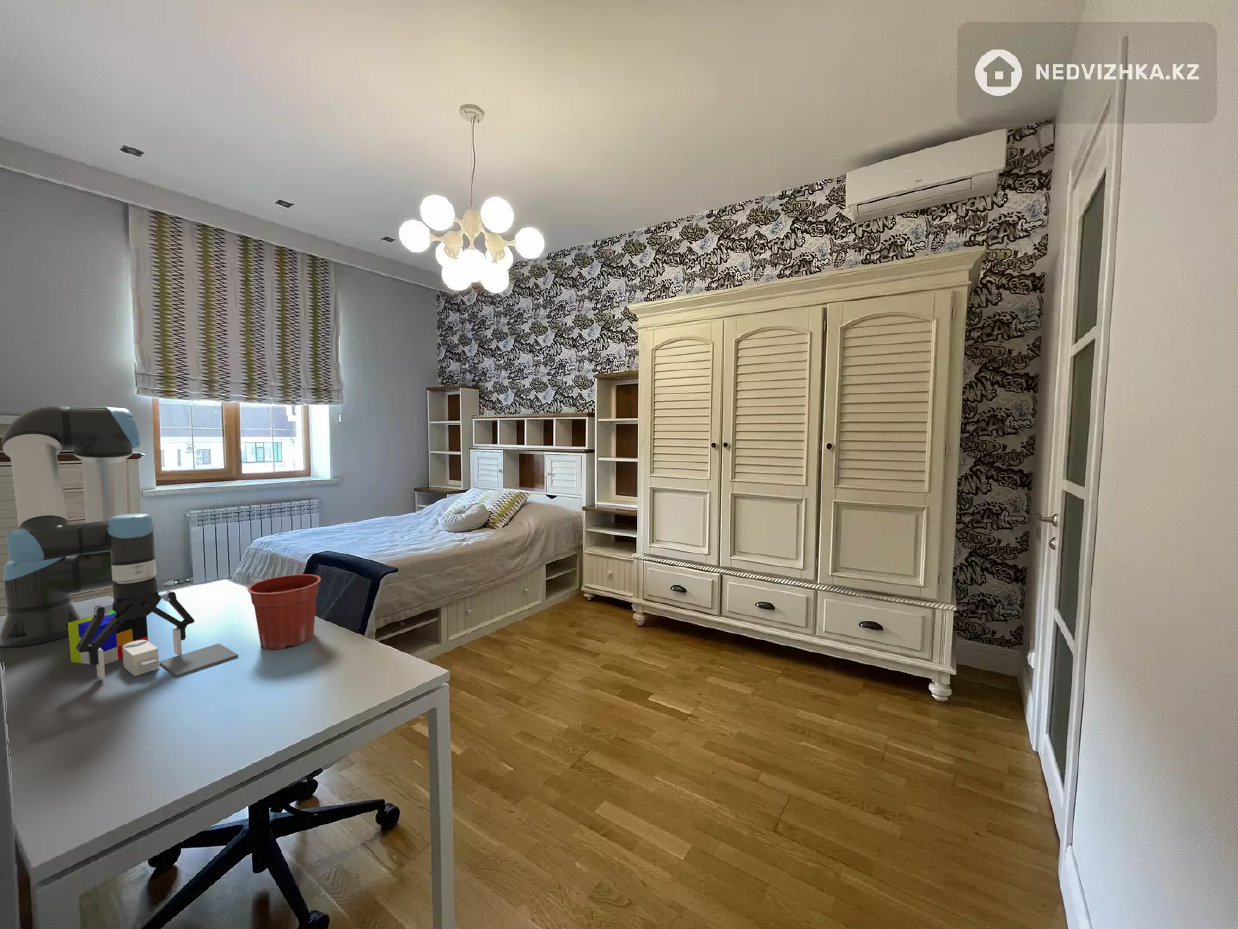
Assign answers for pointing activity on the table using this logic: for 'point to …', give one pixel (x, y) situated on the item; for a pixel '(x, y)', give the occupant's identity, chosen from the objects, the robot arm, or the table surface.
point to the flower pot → (285, 609)
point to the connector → (140, 657)
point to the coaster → (198, 659)
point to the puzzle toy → (114, 643)
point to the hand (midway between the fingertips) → (141, 665)
